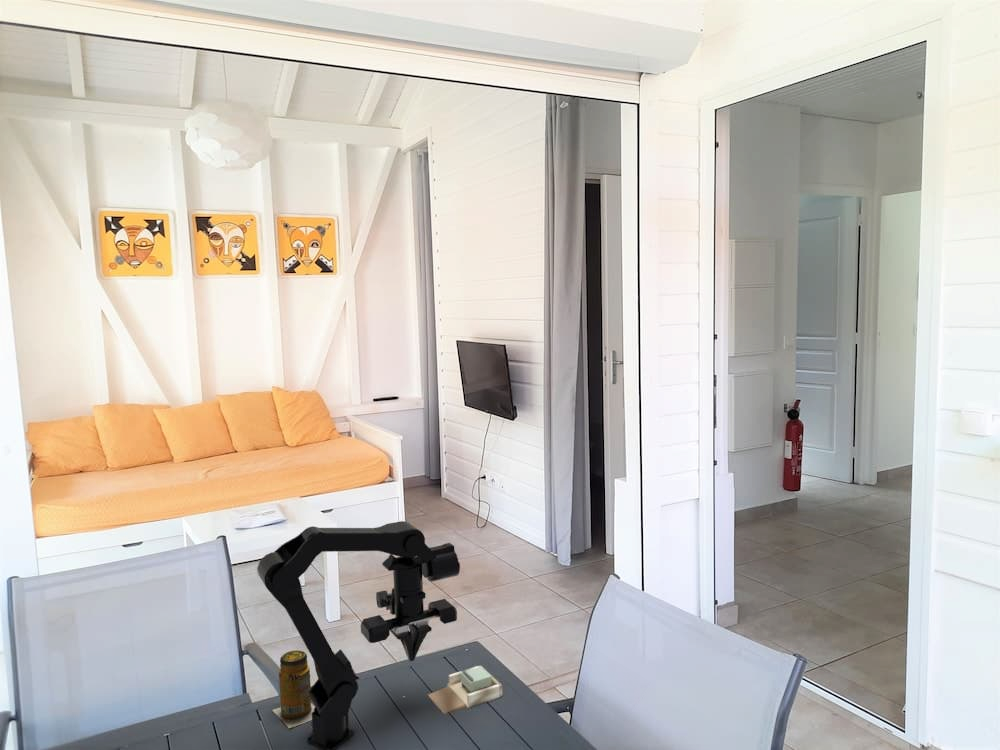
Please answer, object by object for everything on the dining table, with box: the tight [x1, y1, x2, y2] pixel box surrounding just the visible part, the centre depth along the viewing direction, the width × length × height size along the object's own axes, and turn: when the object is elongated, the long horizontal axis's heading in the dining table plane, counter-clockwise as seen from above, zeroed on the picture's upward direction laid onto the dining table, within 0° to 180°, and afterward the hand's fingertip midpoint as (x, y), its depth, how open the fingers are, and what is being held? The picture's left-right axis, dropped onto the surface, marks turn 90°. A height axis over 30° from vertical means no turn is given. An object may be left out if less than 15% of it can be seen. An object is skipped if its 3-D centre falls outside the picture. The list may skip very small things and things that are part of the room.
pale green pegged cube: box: [460, 665, 493, 693], centre depth 154 cm, size 5×5×4 cm
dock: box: [427, 664, 503, 714], centre depth 153 cm, size 13×10×3 cm
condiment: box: [272, 650, 315, 729], centre depth 147 cm, size 7×8×12 cm
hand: (411, 660), depth 146 cm, fingers closed
